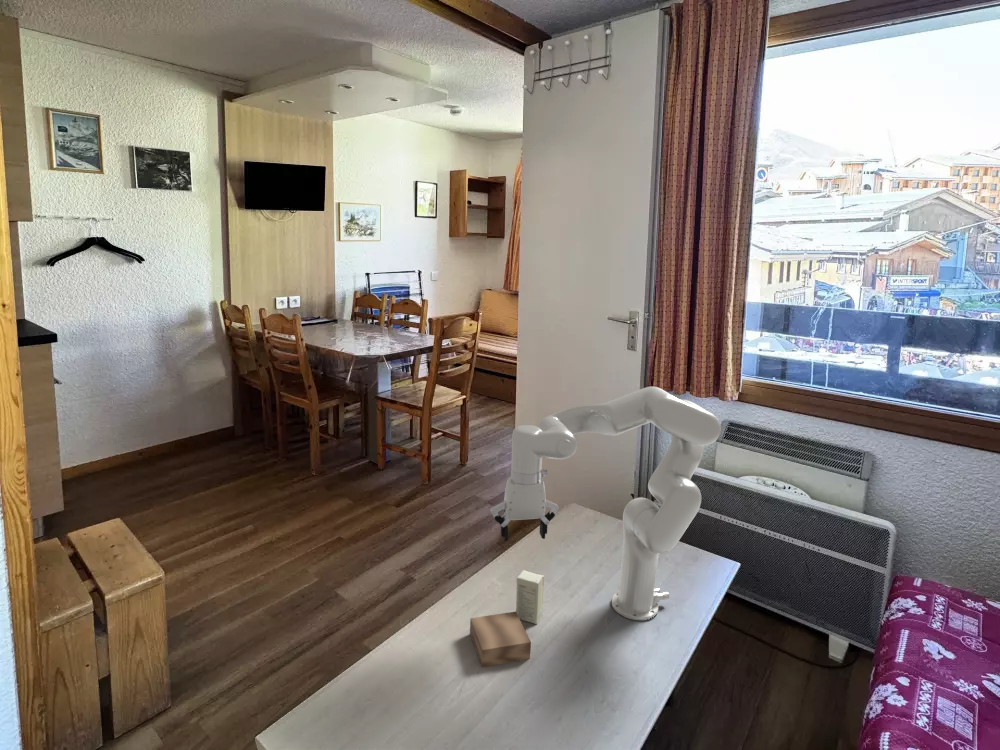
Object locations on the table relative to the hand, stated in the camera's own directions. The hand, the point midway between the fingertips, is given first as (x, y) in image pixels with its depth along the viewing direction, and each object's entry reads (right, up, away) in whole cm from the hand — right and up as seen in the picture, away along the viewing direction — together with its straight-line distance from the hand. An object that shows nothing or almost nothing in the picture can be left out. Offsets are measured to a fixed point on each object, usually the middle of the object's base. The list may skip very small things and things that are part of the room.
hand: (523, 537), depth 156 cm
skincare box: (+2, -23, +8) cm, 25 cm away
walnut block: (-6, -26, -4) cm, 27 cm away
